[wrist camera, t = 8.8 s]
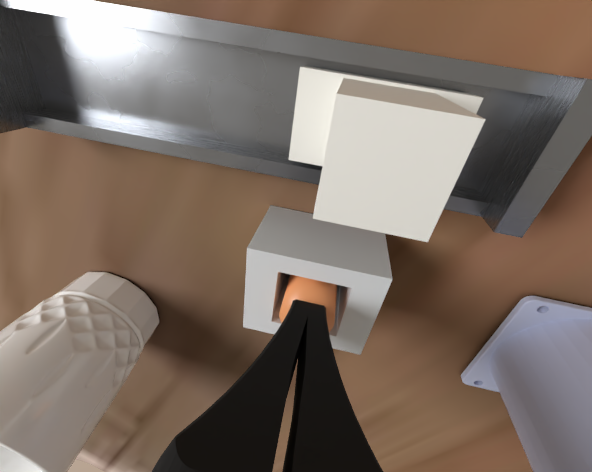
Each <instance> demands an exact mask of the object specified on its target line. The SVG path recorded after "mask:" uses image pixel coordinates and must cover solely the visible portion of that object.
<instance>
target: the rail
mask: <svg viewBox="0 0 592 472" xmlns="http://www.w3.org/2000/svg"><path fill="white" fill-rule="evenodd" d="M301 66H311V67H317V68H323V69H329V70H335V71H341V72H347V73H353V74H359V75H365V76H371V77H377V78H383V79H389V80H395V81H400V82H406V83H412V84H418V85H424V86H430V87H436V88H442V89H448V90H454V91H460V92H466V93H472V94H474V95H477V96H480V97H483V100H482V103H481V105H480V107H479V109H478V111H477V114H476V115H478V116H480V117H482V118H484V119H486V120H485V122H484V124H483V126H482V128H481V130H480V132H479V135H478V137H477V139H476V141H475V143H474V145H473V147H472V149H471V152H470V154H469V156H468V158H467V160H466V162H465V164H464V166H463V168H462V171H461V173H460V175H459V177H458V179H457V181H456V183H455V185H454V188H453V190H452V192H451V194H450V196H449V198H448V200H447V202H446V205H445V207H444V209H446V210H451V211H456V212H461V213H466V214H471V215H476V216H481V217H483V219H484V220H485V221H486V223H487V224H488V225H489V226H490V228H491V229H492V230H493V232H496V233H501V234H506V235H511V236H516V237H521V238H522V237H523V235H524V234H525V232H526V231H527V230H528V228H529V227H530V225H531V224H532V222H533V221H534V219H535V218H536V216H537V215H538V213H539V212H540V211H541V209H542V208H543V206H544V205H545V203H546V202H547V200H548V199H549V197H550V196H551V194H552V193H553V192H554V190H555V189H556V187H557V186H558V184H559V183H560V181H561V180H562V178H563V177H564V175H565V174H566V173H567V171H568V170H569V168H570V167H571V165H572V164H573V162H574V161H575V159H576V158H577V156H578V155H579V154H580V152H581V151H582V149H583V148H584V146H585V145H586V143H587V142H588V140H589V139H590V137H591V136H592V79H584V78H576V77H567V76H559V75H553V74H547V73H540V72H534V71H528V70H522V69H516V68H509V67H503V66H497V65H491V64H484V63H478V62H472V61H466V60H459V59H453V58H447V57H441V56H435V55H428V54H422V53H416V52H410V51H403V50H397V49H391V48H385V47H378V46H372V45H366V44H360V43H353V42H347V41H341V40H335V39H329V38H322V37H316V36H310V35H304V34H297V33H291V32H285V31H279V30H272V29H266V28H260V27H254V26H248V25H241V24H235V23H229V22H223V21H216V20H210V19H204V18H198V17H191V16H185V15H179V14H173V13H166V12H160V11H154V10H148V9H142V8H135V7H129V6H123V5H117V4H110V3H104V2H98V1H92V0H0V133H4V132H8V131H12V130H17V129H21V128H25V127H28V128H33V129H38V130H43V131H48V132H54V133H59V134H64V135H69V136H74V137H79V138H84V139H89V140H94V141H99V142H104V143H110V144H115V145H120V146H125V147H130V148H135V149H140V150H145V151H150V152H155V153H161V154H166V155H171V156H176V157H181V158H186V159H191V160H196V161H201V162H206V163H211V164H217V165H222V166H227V167H232V168H237V169H242V170H247V171H252V172H257V173H262V174H268V175H273V176H278V177H283V178H288V179H293V180H298V181H303V182H308V183H313V184H318V185H319V182H320V177H321V172H322V167H323V166H318V165H313V164H308V163H302V162H297V161H292V160H288V159H289V151H290V143H291V135H292V127H293V119H294V111H295V103H296V95H297V87H298V79H299V71H300V67H301Z"/></svg>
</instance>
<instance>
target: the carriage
mask: <svg viewBox="0 0 592 472" xmlns="http://www.w3.org/2000/svg"><path fill="white" fill-rule="evenodd" d="M482 100H483V97H480V96H477V95H474V94H472V93H466V92H460V91H454V90H448V89H442V88H436V87H430V86H424V85H418V84H412V83H406V82H400V81H395V80H389V79H383V78H377V77H371V76H365V75H359V74H353V73H347V72H341V71H335V70H329V69H323V68H317V67H311V66H301V67H300V71H299V79H298V87H297V95H296V103H295V111H294V119H293V127H292V135H291V143H290V151H289V159H288V160H292V161H297V162H302V163H308V164H313V165H318V166H323V167H322V172H321V177H320V182H319V188H318V193H317V198H316V203H315V208H314V214H313V219H317V220H322V221H327V222H332V223H337V224H341V225H346V226H351V227H356V228H361V229H366V230H371V231H376V232H380V233H385V234H390V235H395V236H400V237H405V238H410V239H415V240H419V241H424V242H428V241H429V238H430V236H431V234H432V232H433V230H434V228H435V226H436V224H437V221H438V219H439V217H440V215H441V213H442V211H443V209H444V207H445V205H446V202H447V200H448V198H449V196H450V194H451V192H452V190H453V188H454V185H455V183H456V181H457V179H458V177H459V175H460V173H461V171H462V168H463V166H464V164H465V162H466V160H467V158H468V156H469V154H470V152H471V149H472V147H473V145H474V143H475V141H476V139H477V137H478V135H479V132H480V130H481V128H482V126H483V124H484V122H485V120H486V119H484V118H482V117H480V116H478V115H476V114H477V111H478V109H479V107H480V105H481V103H482Z"/></svg>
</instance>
